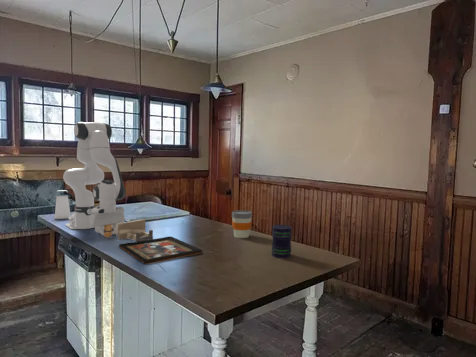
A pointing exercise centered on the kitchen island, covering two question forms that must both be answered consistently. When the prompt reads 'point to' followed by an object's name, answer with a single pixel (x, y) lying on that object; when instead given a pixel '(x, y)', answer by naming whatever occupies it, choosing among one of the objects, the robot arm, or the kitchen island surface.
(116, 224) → the cable organizer
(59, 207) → the grater
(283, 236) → the storage jar
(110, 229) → the banded tan cylinder
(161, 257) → the framed icon painting
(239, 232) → the reusable coffee cup
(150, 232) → the wooden trestle bench
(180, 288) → the kitchen island surface
